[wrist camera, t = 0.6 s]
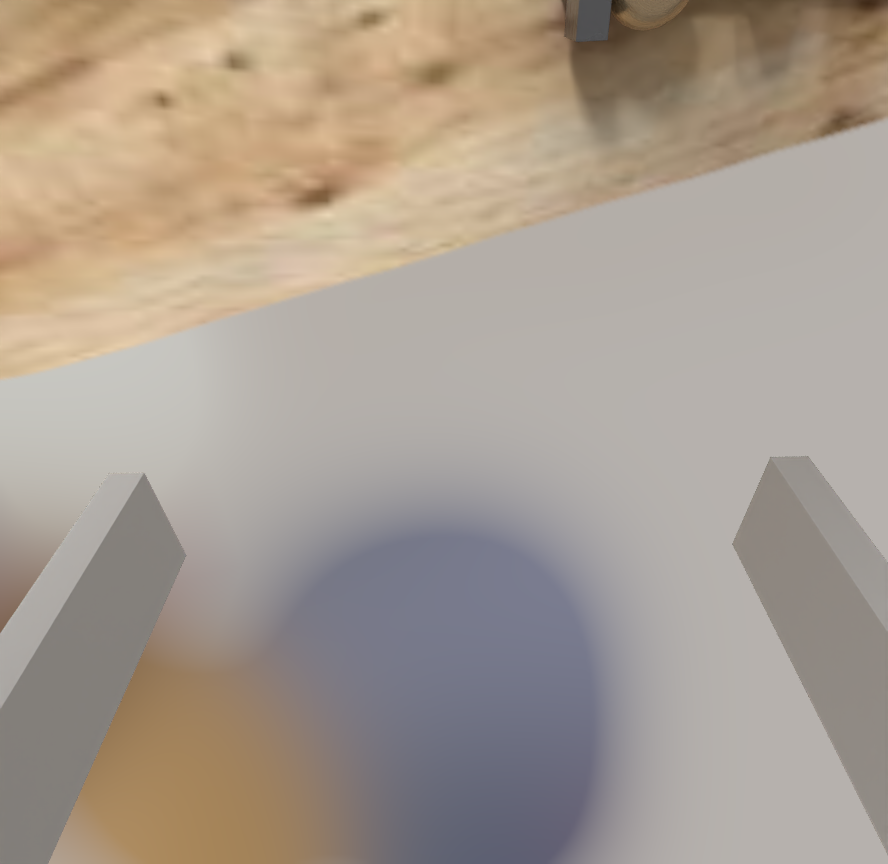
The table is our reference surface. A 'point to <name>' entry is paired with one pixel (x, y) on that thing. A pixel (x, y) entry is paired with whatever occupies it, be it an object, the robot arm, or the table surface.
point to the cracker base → (587, 20)
